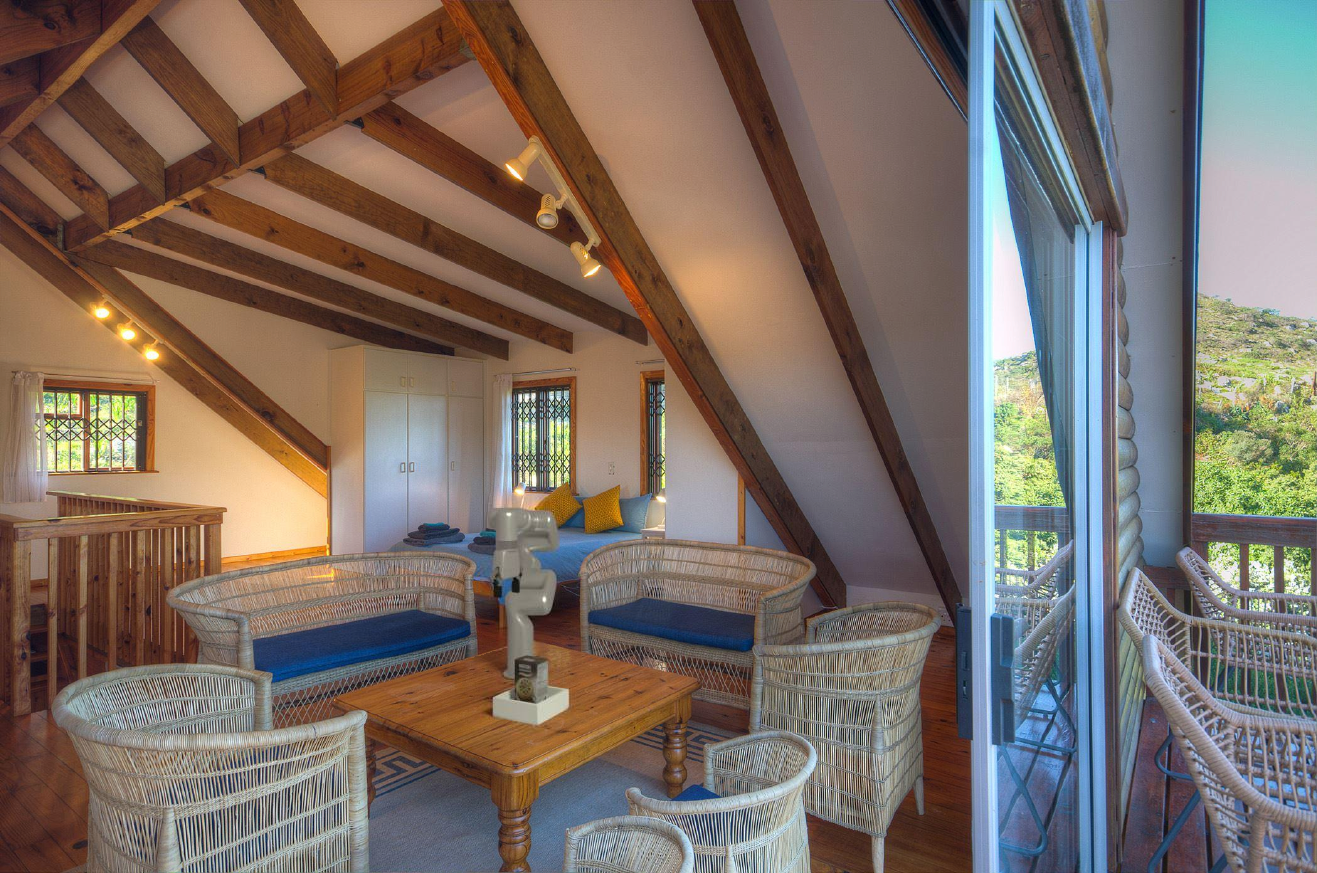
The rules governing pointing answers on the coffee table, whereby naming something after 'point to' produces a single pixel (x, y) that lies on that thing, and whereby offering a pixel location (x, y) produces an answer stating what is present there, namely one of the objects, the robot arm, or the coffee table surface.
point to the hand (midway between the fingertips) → (506, 595)
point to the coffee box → (531, 679)
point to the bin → (530, 706)
